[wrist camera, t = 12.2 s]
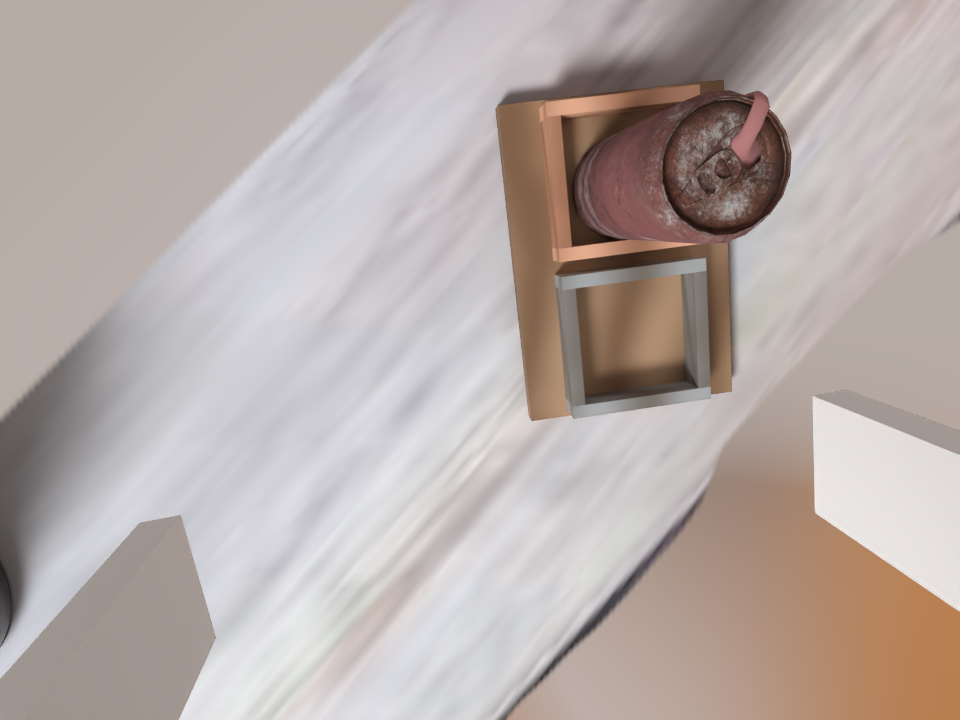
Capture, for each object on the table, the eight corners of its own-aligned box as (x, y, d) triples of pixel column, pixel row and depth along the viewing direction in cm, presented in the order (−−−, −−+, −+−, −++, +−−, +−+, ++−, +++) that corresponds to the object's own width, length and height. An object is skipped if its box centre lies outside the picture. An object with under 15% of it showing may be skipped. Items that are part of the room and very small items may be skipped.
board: (528, 415, 41) (537, 430, 38) (495, 109, 37) (502, 98, 34) (723, 386, 42) (747, 399, 39) (714, 84, 38) (740, 71, 35)
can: (679, 149, 37) (826, 105, 24) (646, 249, 38) (768, 261, 25) (588, 119, 36) (687, 56, 23) (557, 222, 38) (633, 220, 24)
